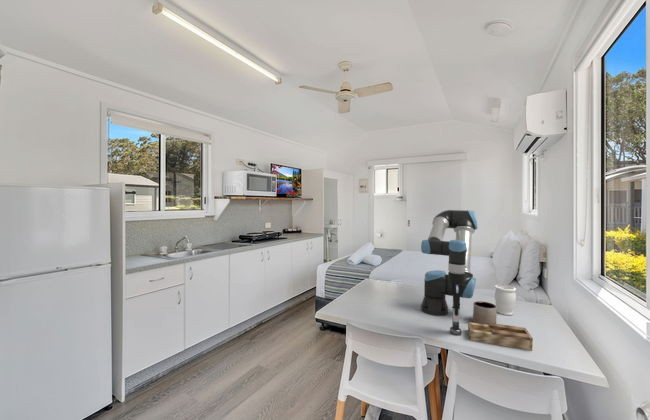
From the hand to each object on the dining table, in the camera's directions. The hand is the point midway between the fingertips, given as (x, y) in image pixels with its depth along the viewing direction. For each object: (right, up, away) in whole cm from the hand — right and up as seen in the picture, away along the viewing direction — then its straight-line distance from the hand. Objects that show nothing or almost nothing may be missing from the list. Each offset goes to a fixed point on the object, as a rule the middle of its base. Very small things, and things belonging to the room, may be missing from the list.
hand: (455, 319), depth 138 cm
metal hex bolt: (0, -7, 0) cm, 7 cm away
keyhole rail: (+17, -7, -6) cm, 19 cm away
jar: (+41, -6, +27) cm, 49 cm away
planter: (+21, -7, +13) cm, 26 cm away
